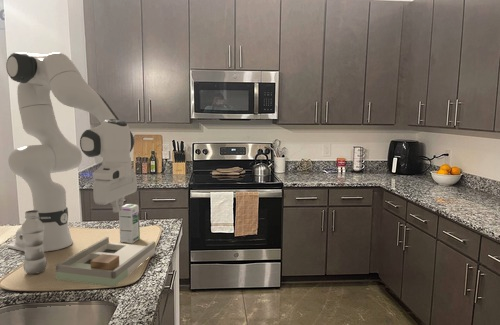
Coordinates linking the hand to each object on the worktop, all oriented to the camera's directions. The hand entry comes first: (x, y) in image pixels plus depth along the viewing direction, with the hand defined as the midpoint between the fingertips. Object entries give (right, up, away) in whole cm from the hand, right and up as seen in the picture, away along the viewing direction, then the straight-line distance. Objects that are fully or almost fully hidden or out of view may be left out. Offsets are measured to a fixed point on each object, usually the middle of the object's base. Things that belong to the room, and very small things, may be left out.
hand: (117, 211), depth 123 cm
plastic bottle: (-26, -20, -2) cm, 32 cm away
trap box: (-4, -19, +4) cm, 20 cm away
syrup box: (-5, -16, +28) cm, 32 cm away
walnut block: (-2, -18, -6) cm, 19 cm away
